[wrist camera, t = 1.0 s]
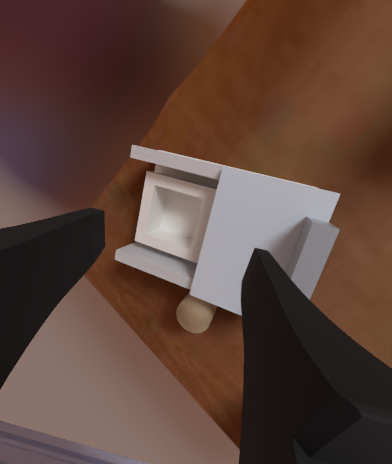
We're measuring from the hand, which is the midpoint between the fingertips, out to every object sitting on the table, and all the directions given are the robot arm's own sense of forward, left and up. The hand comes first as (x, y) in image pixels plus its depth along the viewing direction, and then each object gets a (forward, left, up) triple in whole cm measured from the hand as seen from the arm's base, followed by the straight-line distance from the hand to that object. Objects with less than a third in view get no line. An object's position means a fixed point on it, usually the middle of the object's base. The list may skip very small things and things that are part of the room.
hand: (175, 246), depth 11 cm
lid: (-2, -4, -10) cm, 11 cm away
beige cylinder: (-12, 0, -16) cm, 20 cm away
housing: (-2, +1, -16) cm, 16 cm away
